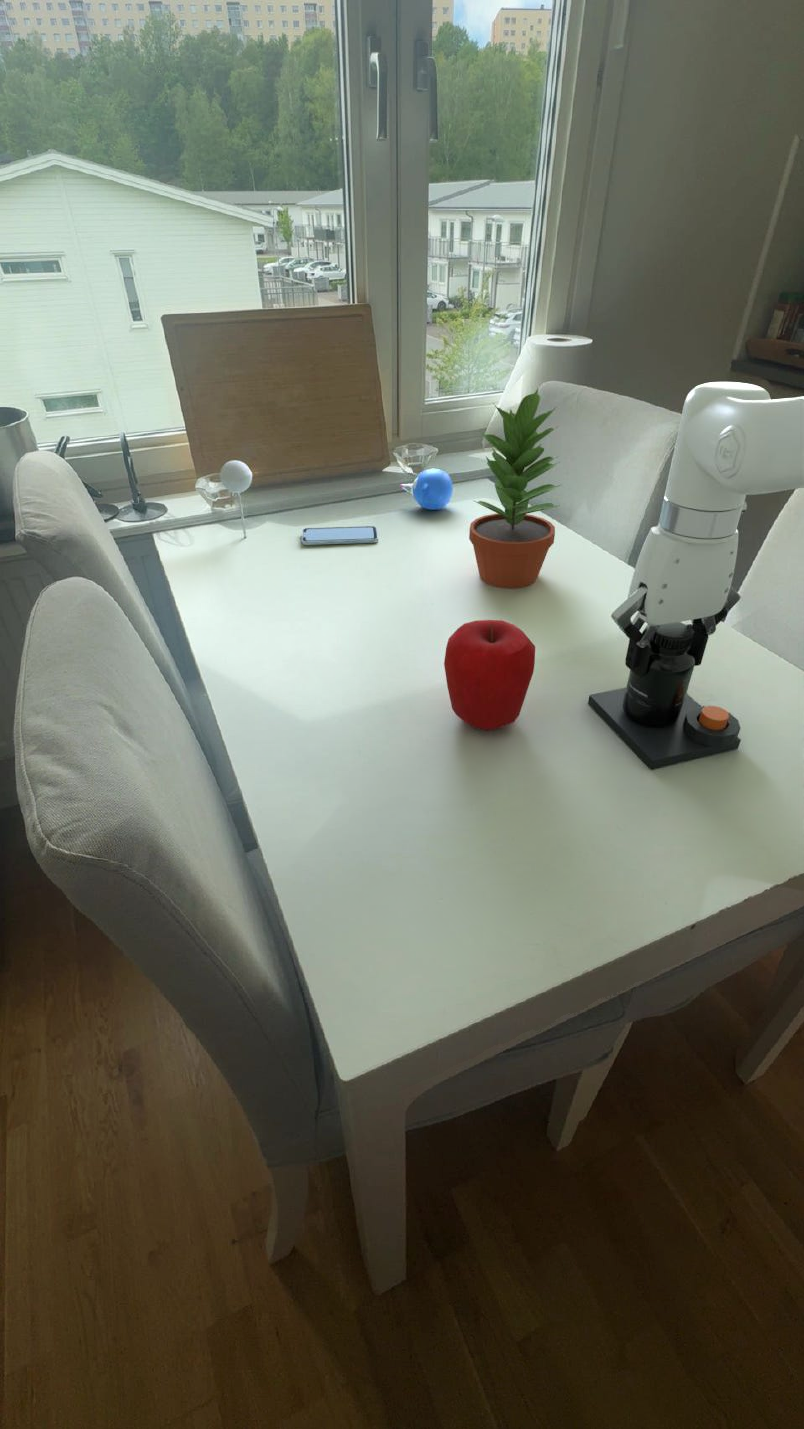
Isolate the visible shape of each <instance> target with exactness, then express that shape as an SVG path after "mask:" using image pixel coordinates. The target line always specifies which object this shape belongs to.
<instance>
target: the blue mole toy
mask: <svg viewBox="0 0 804 1429" xmlns="http://www.w3.org/2000/svg"><path fill="white" fill-rule="evenodd" d="M399 488H400V489H401V490H404V491H405V492H407V493H408V494H409V495H411V496H412V498H413V499H414V500H415V501H416V502H417V504H418V505H419V506H420V507H421V508H424V509H425V510H430V511H436V510H440V509H443V508H444V507H445V506H447V505H448V504H449V503H450V501H451V499H452V496H453V491H454V486H453V481H452V478H451V477H450V476H449V474H448V473H447V472H446V471H444V470H443V469H439V468H428V469H424V470H423V471H421V472H420V473H419V474H418V475H417V476H416V478H415V479H414V480H413V482H412V483H404V484H403V483H401V484H399Z"/></svg>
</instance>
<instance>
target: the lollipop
mask: <svg viewBox="0 0 804 1429" xmlns="http://www.w3.org/2000/svg"><path fill="white" fill-rule="evenodd" d="M219 480H220V482H221V484H222V485H223V487H224V488H225V489H226V490H228V491H229V492H231V493H233V494H234V493H235V494H237V499H238V506H239V511H240V517H241V524H242V531H243V538H247V536H248V535H247V531H246V525H245V518H244V517H245V516H244V512H243V511H244V510H243V505H242V504H243V503H242V498H241V493H244V492H246V491H247V490H248V489H249V488H250V486H251V484H252V481H253V473H252V471H251V469H250V468H249V466H248V465H247V464H246V463H244V462H243V461H241V460H230V461H227V462H226V463H225V464H224V465H223V466H222V467H221V469H220V472H219Z"/></svg>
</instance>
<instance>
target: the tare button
mask: <svg viewBox="0 0 804 1429" xmlns="http://www.w3.org/2000/svg"><path fill="white" fill-rule="evenodd" d="M728 718H729V714H728V711H727V710H726V709H724V708H722V707H721V706H717V705H706V706H705V707H704V708H703V709H702V711H701V714H700V718H699V723H700V724H701V725H702V726H703V727H706V728H708V729H711V730H723V729H724V728H725V727H726V724H727V721H728Z"/></svg>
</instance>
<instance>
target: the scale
mask: <svg viewBox="0 0 804 1429" xmlns="http://www.w3.org/2000/svg"><path fill="white" fill-rule="evenodd" d="M625 691H626V687H621V688H617V689H611V690H607V691H602V692H596V693H592V694H589V695H588V699H587V704H588V706H589V707H590V708H591V709H592V710H593V711H594V712H595V713H596V714H597V715H598V716H599V717H600V718H601V719H602V720H603V722H604V723H605V724H606V725H607V726H608V727H609V728H610V729H611V730H613V732H614V733H615V734H616V735H617V736H618V737H619V738H620V739H621V740H622V741H623V742H624V743H625V745H626V746H628V748H629V749H630V750H631V751H632V752H633V753H634V754H635V756H637V757H638V758H639V759H640V760H641V762H642V763H643V764H645V766H646V767H648V769H649V770H650V771H652V770H656V769H660V768H664V767H669V766H673V765H676V764H681V763H686V762H690V761H694V760H697V759H698V760H699V759H701V758H707V757H711V756H715V755H717V754H718V755H719V754H722V753H727V752H731V751H735V750H738V749H739V748H740V744H741V742H742V739H741V738H740V737H739V734H740V731H741V725H740V721H739V719H738V718H737V717H735V716H734V715H733V714H732V713H730V712H728V711H727V712H728V714H729V718H728V721H727V724H726V727H725V728H724V729H723V730H711V729H708V728H706V727H703V726H702V725H701V724H700V723H699V718H700V714H701V711H702V709H703V708H704V707H706V706H705V705H704V706H703V705H701V704H700V703H698V702H697V701H696V700H695V699H694V698H692V697H691V696H690V695H689V694H688V693H686V696H685V699H684V703H683V706H682V709H681V712H680V715H679V718H678V720H677V721H676V722H675V723H673V724H672V725H670V726H667V727H662V728H652V727H646V726H643V725H640V724H637V723H635V722H634V721H632V720H631V719H630V718H628V717H627V715H626V714H625V713H624V710H623V700H624V695H625Z"/></svg>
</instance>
